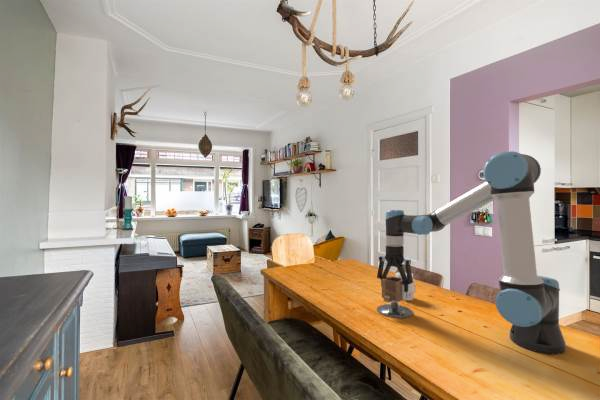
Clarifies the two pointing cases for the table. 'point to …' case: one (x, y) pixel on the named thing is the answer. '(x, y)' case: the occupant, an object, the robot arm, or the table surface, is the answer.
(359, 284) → the table surface
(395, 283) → the collar
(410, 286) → the mug
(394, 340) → the table surface
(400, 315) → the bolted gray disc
